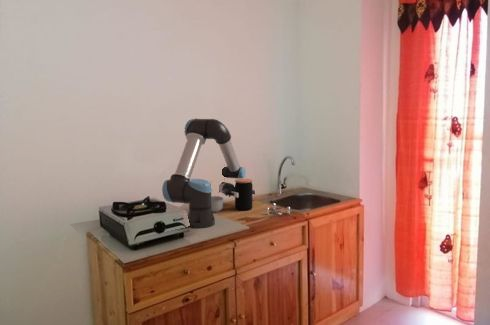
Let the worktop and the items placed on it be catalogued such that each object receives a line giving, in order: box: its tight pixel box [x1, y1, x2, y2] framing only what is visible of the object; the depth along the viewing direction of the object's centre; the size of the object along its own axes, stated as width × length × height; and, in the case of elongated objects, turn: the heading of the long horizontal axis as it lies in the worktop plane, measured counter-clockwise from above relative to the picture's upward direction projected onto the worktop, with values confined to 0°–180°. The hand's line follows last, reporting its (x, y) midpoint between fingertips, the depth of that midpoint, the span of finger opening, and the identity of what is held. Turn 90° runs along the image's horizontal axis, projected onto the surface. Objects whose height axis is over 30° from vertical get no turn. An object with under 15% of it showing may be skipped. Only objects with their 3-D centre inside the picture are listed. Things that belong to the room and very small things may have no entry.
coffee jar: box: [234, 178, 254, 212], centre depth 232 cm, size 11×11×18 cm
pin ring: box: [265, 202, 291, 216], centre depth 222 cm, size 12×14×4 cm
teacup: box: [211, 195, 224, 213], centre depth 228 cm, size 14×11×8 cm
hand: (247, 193), depth 229 cm, fingers open, 13 cm apart
